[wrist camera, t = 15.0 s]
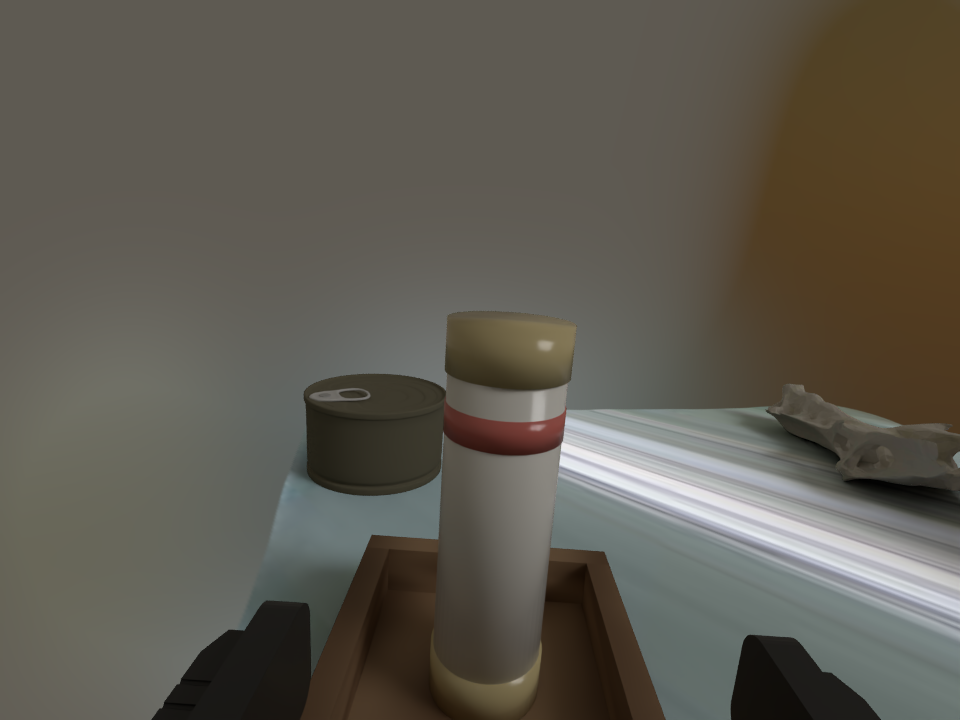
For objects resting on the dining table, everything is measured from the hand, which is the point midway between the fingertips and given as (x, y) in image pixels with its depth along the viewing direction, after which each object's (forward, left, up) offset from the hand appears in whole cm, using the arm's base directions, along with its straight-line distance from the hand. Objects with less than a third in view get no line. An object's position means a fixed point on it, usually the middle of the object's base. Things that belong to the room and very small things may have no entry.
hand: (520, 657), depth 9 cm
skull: (-38, -41, -12) cm, 58 cm away
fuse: (0, -11, -11) cm, 16 cm away
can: (+10, -34, -12) cm, 38 cm away
